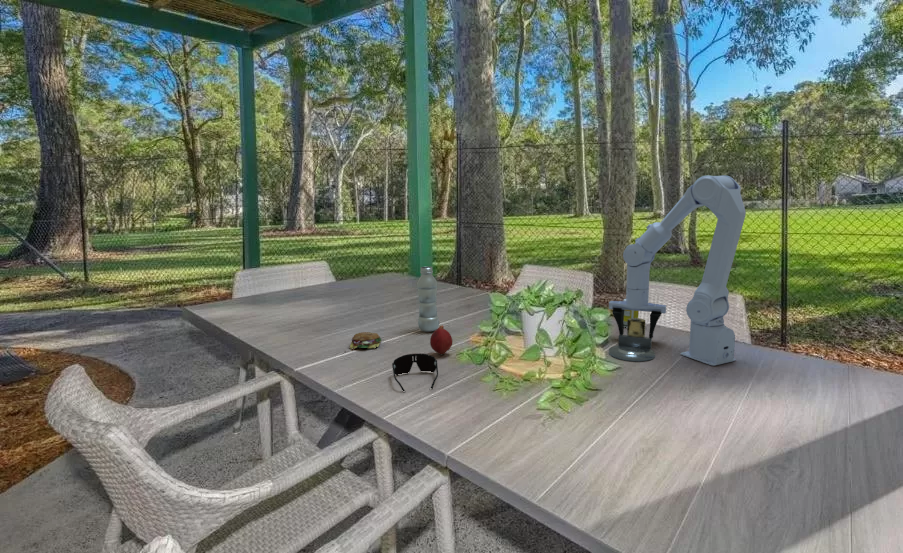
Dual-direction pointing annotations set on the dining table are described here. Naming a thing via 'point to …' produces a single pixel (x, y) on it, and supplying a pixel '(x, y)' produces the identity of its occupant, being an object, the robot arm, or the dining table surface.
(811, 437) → the dining table surface
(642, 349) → the flange seat
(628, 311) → the supplement bottle
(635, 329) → the cylinder
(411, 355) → the sunglasses
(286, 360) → the dining table surface
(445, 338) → the onion
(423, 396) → the dining table surface
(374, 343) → the hamburger
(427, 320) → the plastic bottle
